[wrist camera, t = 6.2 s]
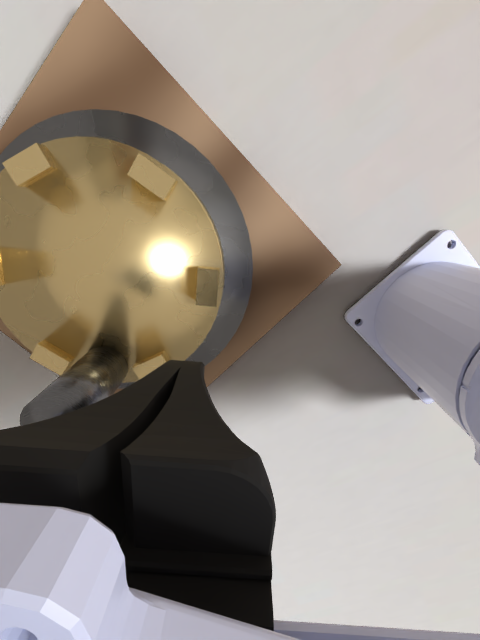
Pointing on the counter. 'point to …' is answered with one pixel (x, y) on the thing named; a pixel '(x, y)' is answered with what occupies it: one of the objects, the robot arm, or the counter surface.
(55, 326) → the ring nut
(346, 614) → the counter surface
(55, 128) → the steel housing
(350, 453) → the counter surface
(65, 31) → the walnut base board
